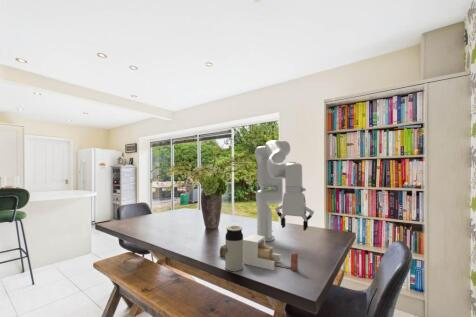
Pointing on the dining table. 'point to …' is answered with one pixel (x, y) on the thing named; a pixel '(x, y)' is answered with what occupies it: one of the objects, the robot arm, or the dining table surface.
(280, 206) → the robot arm
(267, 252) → the oak block with cord
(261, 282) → the dining table surface
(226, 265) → the travel mug
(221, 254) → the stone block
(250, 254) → the white l-shaped block
